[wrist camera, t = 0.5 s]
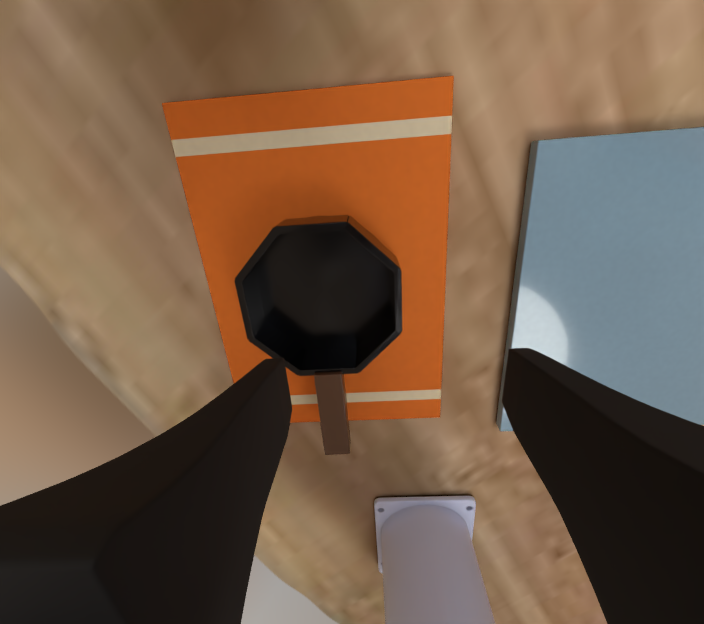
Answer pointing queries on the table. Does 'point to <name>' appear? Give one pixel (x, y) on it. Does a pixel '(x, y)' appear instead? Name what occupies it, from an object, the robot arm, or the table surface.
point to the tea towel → (328, 212)
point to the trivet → (616, 265)
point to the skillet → (322, 307)
